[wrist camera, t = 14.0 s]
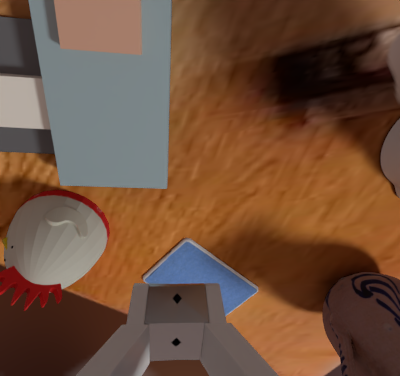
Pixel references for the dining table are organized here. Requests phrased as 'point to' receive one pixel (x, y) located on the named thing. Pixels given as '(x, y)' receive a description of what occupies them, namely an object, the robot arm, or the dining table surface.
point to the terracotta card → (100, 25)
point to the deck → (108, 103)
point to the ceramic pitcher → (365, 324)
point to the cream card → (23, 102)
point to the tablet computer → (201, 273)
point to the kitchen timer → (52, 244)
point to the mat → (21, 65)
